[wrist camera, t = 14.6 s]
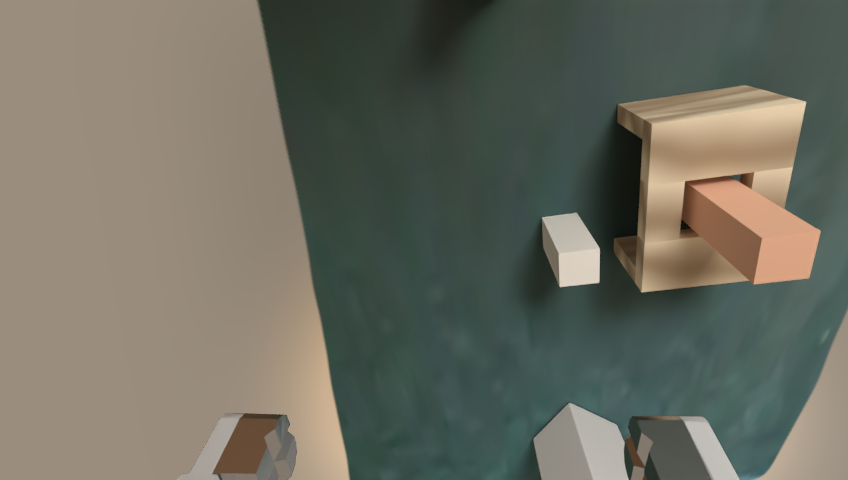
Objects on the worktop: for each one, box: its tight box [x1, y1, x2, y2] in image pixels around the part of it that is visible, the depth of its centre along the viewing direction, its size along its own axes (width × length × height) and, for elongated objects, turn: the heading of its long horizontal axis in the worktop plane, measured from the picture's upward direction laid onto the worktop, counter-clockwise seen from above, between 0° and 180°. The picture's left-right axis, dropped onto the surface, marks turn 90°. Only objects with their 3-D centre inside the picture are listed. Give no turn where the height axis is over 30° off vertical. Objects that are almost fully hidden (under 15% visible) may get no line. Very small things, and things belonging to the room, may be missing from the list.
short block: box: [542, 213, 600, 287], centre depth 41 cm, size 3×3×7 cm
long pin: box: [681, 176, 821, 284], centre depth 35 cm, size 3×3×15 cm
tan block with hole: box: [614, 85, 806, 292], centre depth 38 cm, size 14×10×7 cm
